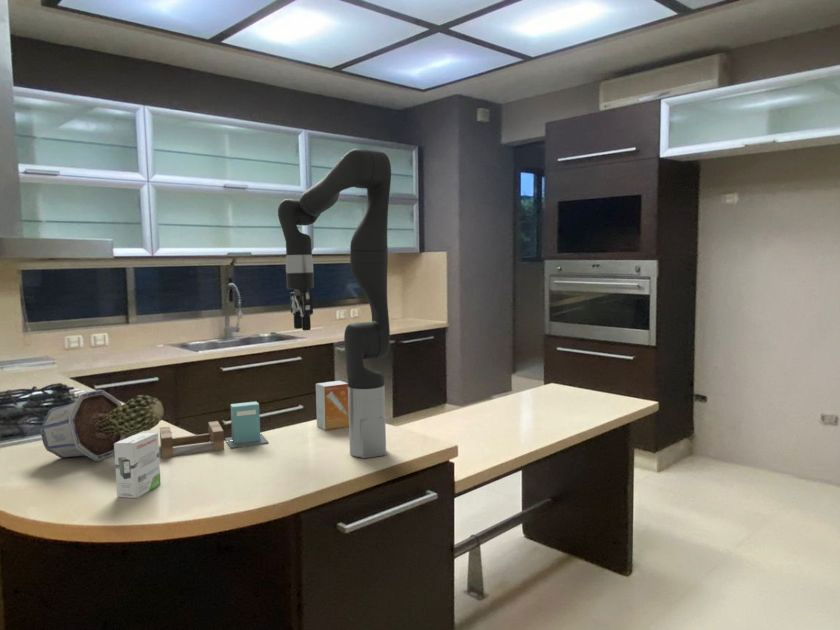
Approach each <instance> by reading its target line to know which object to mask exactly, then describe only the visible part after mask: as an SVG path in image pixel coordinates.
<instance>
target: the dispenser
mask: <svg viewBox="0 0 840 630" xmlns="http://www.w3.org/2000/svg"><path fill="white" fill-rule="evenodd" d="M207 423H208V433H201V434H191V435H185V436H177V437H173V434H172V431H171V430H172V429H171V428H170V427H171V426H164V427H159V439H160V440H159V442H160V448H161V449H160V451H161V456H162V457H161V458H162V459H164V458H171V457H172V458H173V457H174V456H182V455H188V454H195V453H201V452H210V451H214V452H216V451H217V452H218V451H223V450H225V437H224V435H225V434H224V429H223V428H222V425H221V424H220V423H219V421H218V420H214V421H208V422H207Z"/></svg>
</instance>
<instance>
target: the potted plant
mask: <svg viewBox="0 0 840 630" xmlns="http://www.w3.org/2000/svg"><path fill="white" fill-rule="evenodd" d="M164 415H165V411H164V407H163V403H162V401H161V400H159V399H158V398H156V397H152V396H150V395H147V394H137V395H136V396H134V397H132V398H131V399H129V400H127V402H126V403H123V404H122V403H121V402H120V401H119V400H118V399H117V398H116V397H115V396H113V395H112V394H110V393H108V392H106V390H104V389H97V390H93V391H92V390H91V391H87V392H84V393H80V394H79V396H78V398H76V401H74V402H72V403H69V404H66V405H61V406H57V407H53V408H50V409H49V410H48V411H47V414H46V416H44V420H43V422H42V425H41V427H40V435H41V436H40V437H41V440H42V444H43V446H44V448H45V450H46V451H47V452H49V453H51V454H53V455H55V456H56V457H58V458H62V459H66V458H72V457H80V456H83V457H84V456H86V457H88V458H90V460H92V461H94V462H100V461H103V460H106V459H108V458H111V457H113V456H115V452H114V443H116V442H119V441H121V440H123V439H124V438H125V436H129V435H131V434H133V433H137V432H140V433H144V432H147V431H151V430H152V429H153V428H155V427H156V426H157V425H159V423H160V422H161V421H162V420H163V416H164Z"/></svg>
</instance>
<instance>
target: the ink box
mask: <svg viewBox="0 0 840 630" xmlns="http://www.w3.org/2000/svg"><path fill="white" fill-rule="evenodd" d="M159 442H160V441H159V433H156V432H140V433H138V434H135V435H133V436H131V437H128V438H126V439H123V440H121V441H119V442H116V443H114V452H115V455H114V464H115V479H116V481H115V482H116V496H117V498H127V499H128V498H129V499H138V498H140V497H142V496H143V495H145V494H147V493H148V492H150V491H152V490H153V489H154V488H157V487H158V486H160V485H161V469H160V468H161V467H160V464H161V463H160V448H159V447H160V446H159V445H160V444H159Z"/></svg>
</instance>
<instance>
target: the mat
mask: <svg viewBox="0 0 840 630" xmlns="http://www.w3.org/2000/svg"><path fill="white" fill-rule="evenodd" d="M260 437H261V440H258V441H250V442H243V443H235V444H234V442H233V441H230V440H232V436H231V437H224V441H225V442H226V441H228V442H226V443H228V444H227V446H228V445H229V446H228V448H229V447H230V448H232V449H237V448H236V447H239V448H244V447H243V446H246V447H253V446H260V445H259V444H261V445H266V444H267V445H268V444H269V441H268V440H267V438H266V437H265V435H264V434H263V433H261V434H260ZM252 445H253V446H252ZM230 448H229V449H230Z"/></svg>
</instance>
